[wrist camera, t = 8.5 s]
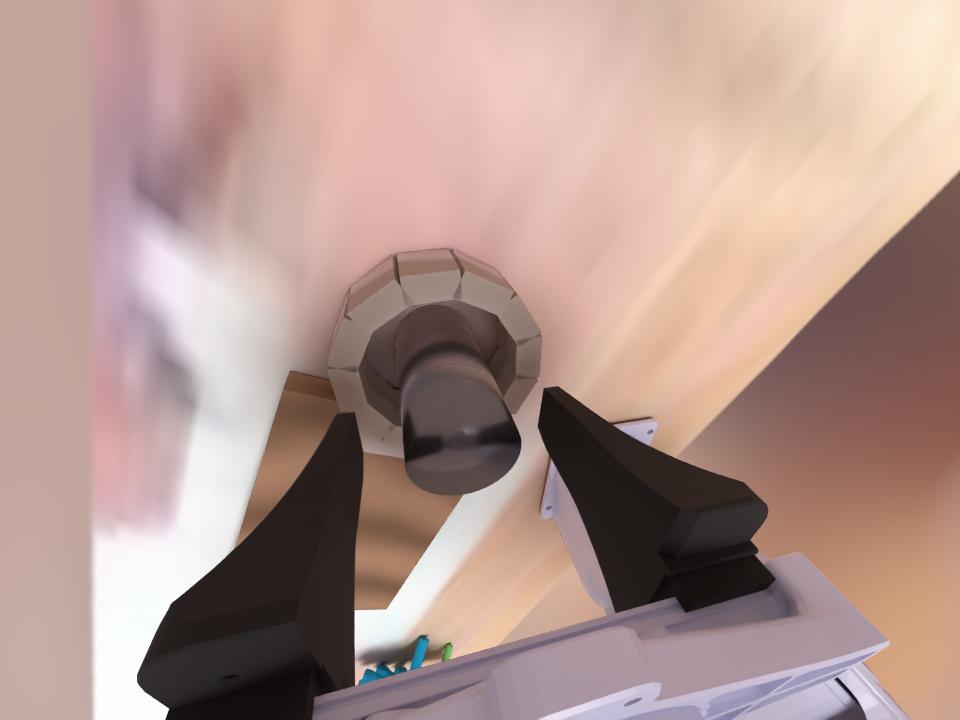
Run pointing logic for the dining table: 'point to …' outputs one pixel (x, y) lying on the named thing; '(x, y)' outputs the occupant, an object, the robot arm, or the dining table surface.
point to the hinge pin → (450, 406)
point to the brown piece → (389, 410)
